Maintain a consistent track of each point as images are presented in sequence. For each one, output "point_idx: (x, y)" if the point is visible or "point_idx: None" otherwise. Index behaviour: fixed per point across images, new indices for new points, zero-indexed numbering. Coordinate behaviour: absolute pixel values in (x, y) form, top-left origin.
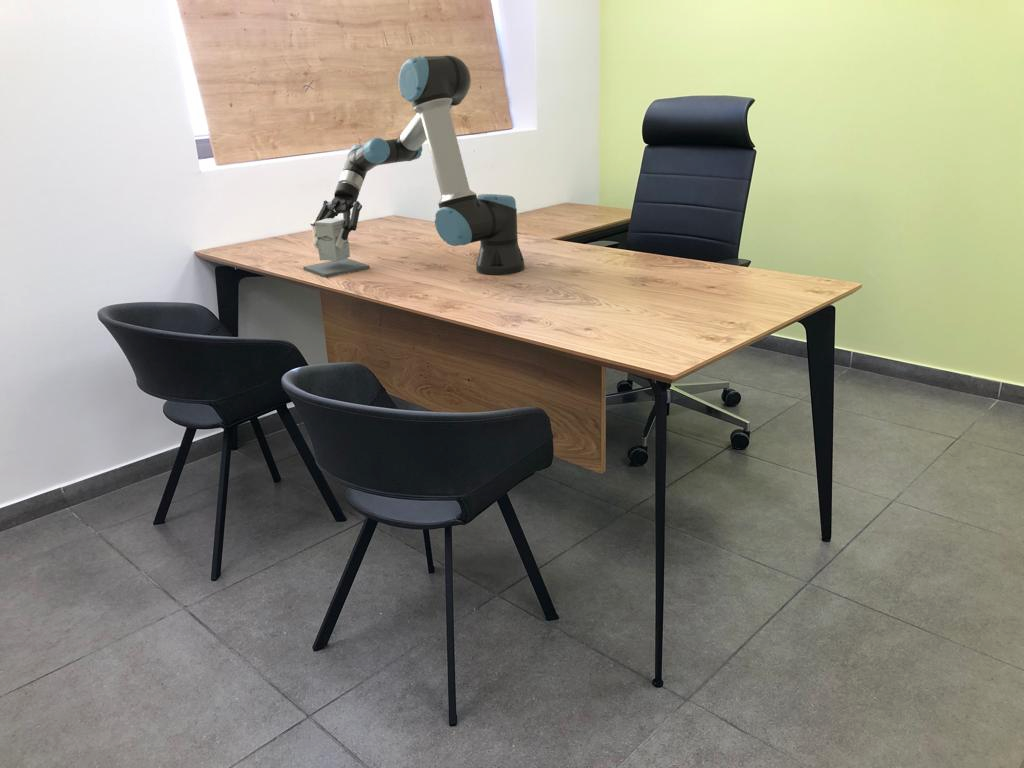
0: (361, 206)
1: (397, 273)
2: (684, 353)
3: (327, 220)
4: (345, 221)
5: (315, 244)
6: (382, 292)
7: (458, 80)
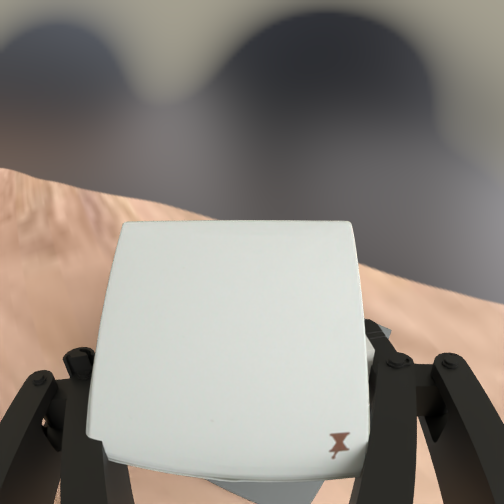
0: None
1: (11, 354)
2: None
3: (244, 311)
4: (80, 413)
5: None
6: (17, 191)
7: None
